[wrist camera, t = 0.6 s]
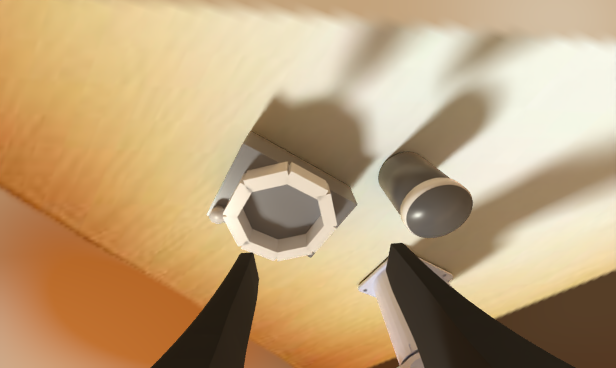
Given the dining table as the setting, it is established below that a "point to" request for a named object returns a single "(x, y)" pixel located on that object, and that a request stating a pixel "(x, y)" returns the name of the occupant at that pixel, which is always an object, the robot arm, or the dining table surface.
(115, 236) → the dining table surface
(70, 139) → the dining table surface
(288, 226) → the octagonal ring base
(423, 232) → the lens
